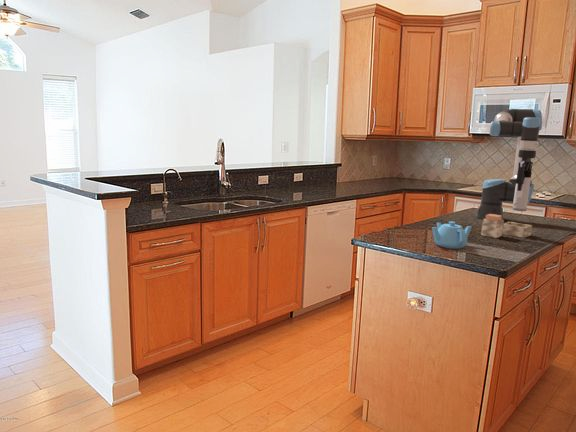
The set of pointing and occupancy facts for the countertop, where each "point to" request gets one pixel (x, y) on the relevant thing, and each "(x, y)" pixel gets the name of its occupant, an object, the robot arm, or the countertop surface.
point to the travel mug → (522, 202)
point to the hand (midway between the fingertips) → (521, 196)
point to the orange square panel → (493, 217)
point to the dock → (505, 229)
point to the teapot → (450, 235)
